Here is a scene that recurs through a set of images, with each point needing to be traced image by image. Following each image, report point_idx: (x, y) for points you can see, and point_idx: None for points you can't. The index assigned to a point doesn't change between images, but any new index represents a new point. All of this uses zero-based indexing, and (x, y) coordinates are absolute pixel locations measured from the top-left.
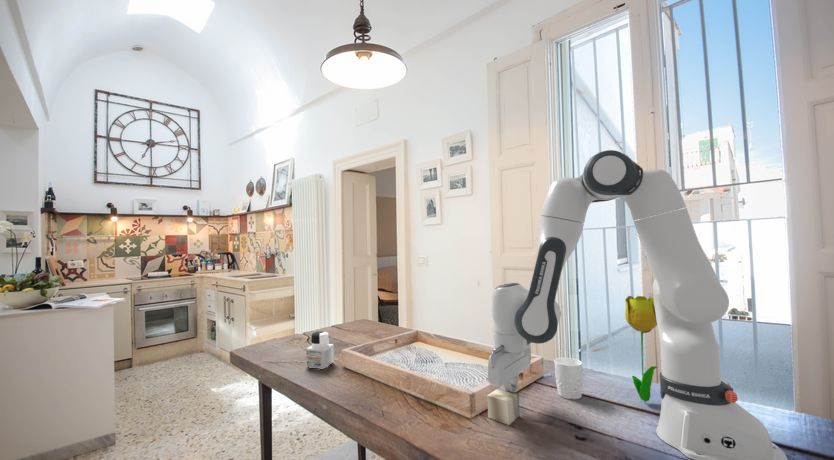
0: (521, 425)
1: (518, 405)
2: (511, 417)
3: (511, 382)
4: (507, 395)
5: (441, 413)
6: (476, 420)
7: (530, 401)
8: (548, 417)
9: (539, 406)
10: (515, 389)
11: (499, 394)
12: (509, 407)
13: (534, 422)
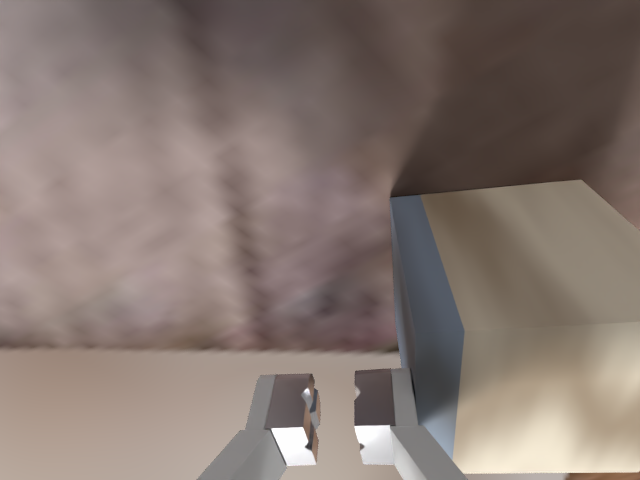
0: (534, 103)
1: (410, 245)
2: (544, 204)
3: (279, 468)
4: (550, 377)
5: None
6: None
7: (128, 255)
8: (223, 4)
9: (129, 174)
10: (303, 384)
11: (560, 426)
12: (631, 261)
13: (408, 48)
